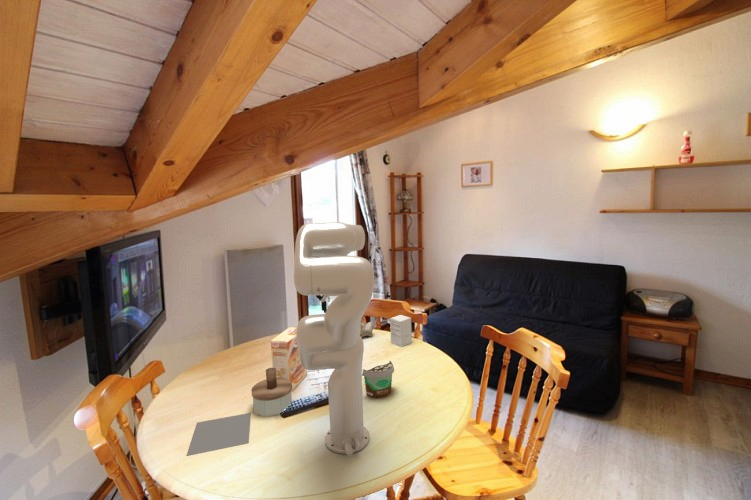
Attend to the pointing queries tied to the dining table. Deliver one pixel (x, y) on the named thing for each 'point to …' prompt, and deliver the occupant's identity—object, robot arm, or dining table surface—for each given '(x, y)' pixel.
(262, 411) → the bowl
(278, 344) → the coffeecake box
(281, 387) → the lid
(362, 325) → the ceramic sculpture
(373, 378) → the food container
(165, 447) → the dining table surface
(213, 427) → the mat
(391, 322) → the white mini drawer cabinet
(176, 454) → the dining table surface
